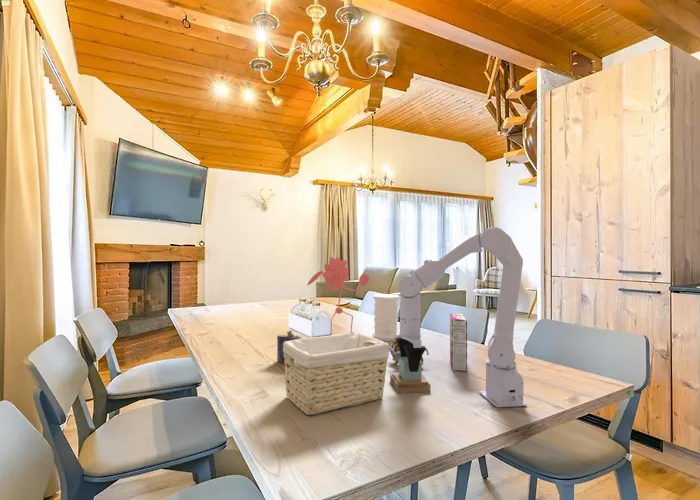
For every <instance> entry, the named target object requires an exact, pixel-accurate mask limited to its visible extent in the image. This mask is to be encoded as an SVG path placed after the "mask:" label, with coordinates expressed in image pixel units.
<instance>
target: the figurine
mask: <svg viewBox="0 0 700 500" xmlns="http://www.w3.org/2000/svg"><path fill="white" fill-rule="evenodd" d="M347 263H348V262H347V260H345V259H343V260H341V258H340V257H339V256H338V257H336V258H334V257H332V256H331V257H330V258H329V262H328V263H324V266H323V267H324V270H325V271H323V270H322V269H321V270H319V271H318V272H316V273H315V274H314V275H313V276H312V277H311V278H310V280H308V282H307V285H306V286H310V285H311V284H313V283H314V282H316V280H318V279H319V278H320V276H321V274H322V276H323V279H324V281H325V285H326V286H327V287H328V290H329V291H330V292H332V291H336V290H340V289H341V290H340V292H339V296H338V304H337V307H336V308H335V310H334V311H335V312H334V314H333V315H332V317H331V319H330V335H333V334H332V333H333V332H332V330H333V329H332V321H333V318H334V317H335V315H336V314H338V315H340V314H342V313H344V314H346V315H349V316H350V317H351V323H350V332H348V334H353V333H354V332H352V331H353V319H354V318H353V317H354V316H353V315H352V314H350V313H348V312H345V311H343V308H342V307H341V306H340V303H341V297H342V292H343V290H344V289H345V290H349V291H352V292H356V291H357V290H358V288H359V287H360V285H361V286H362V287H365V286H366V285H367V284H368V283H369V281H370V280H369V275H367V274H366V273H363V274H361V275H360V276H359V278H358V281H359V283H358V284H357V286H356V288H355V289H353V288H349V287H345V286H344V282H349V281H350V276H349V271H350V270H349V268H348V267H346V266H347ZM330 285H331V286H330ZM331 287H332V288H331Z"/></svg>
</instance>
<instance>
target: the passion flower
mask: <svg viewBox="0 0 700 500" xmlns="http://www.w3.org/2000/svg"><path fill="white" fill-rule="evenodd" d="M390 345H391V348H389V353H390V355H392V356H391V357H392V359H391V361H394V362H393V365H395V366H396V365H398V364H399V357H401V354H400V349H399V346H398V343H397V341H396V338H395V339H394V340H392V342H391V344H390ZM425 352H426V355H427V356H429V355H430V353H429V350H428V348H426V350H425ZM421 362H422V365H423V364H424V362H425V361H424V358H423V356H422V357H421Z"/></svg>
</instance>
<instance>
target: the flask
mask: <svg viewBox="0 0 700 500" xmlns="http://www.w3.org/2000/svg"><path fill="white" fill-rule="evenodd" d="M292 332H293V330H289V331H286V333H287V334H278V335H277V337H276V340H277V343H276V344H277V345H276V346H277V350H276V357H277V358H276V361H277V363H280V364H285V363H284V361H285V358H284V352H283V343H284V342H285V341H290V340H296V339H302V337H301V336H298V334H297V335H295V334H294V333H292Z"/></svg>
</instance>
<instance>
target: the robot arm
mask: <svg viewBox="0 0 700 500" xmlns="http://www.w3.org/2000/svg"><path fill="white" fill-rule="evenodd" d="M482 248H483V249H484V250H485V251H486V252H488V253H490V254H492V255H493V256H495V258H496V259H497V260H498V261H499V263H500V264H501V265H502V273H501V278H500V286H499V291H498V292H499V294H498V298H497V299H498V302H497V308H496V315H495V322H494V328H493V334H492V336H491V337H490V339H489V340H488V344H487V349H488V350H487V357H488V358H487V359H486V360H485V362H486V363H485V390H480V391H479V394H480V395H481V396H482V397H484V398H485V399H486V400H487V401H489V402H490V403H491V404H492V405H493V406H495V408H509V407H511V408H512V407H513V408H514V407H526V406H527V403H526V402H525V401H524V378H523V376H522V375H521V374H520V373H519V372H518V370H517V363H516V361H515V360H516V359H515V358H516V352H515V350H514V330H515V324H516V315H517V308H518V302H519V293H520V288H521V287H520V286H521V280H522V279H521V278H522V272H523V266H524V264H523V263H524V260H523V257H522V255H521V254H520V252H519V250H518V248H517V246H516V245H515V243H514V241H513V239H512V237H511V236H510V235H509V234H508V233H507V232H506V231H504V230H503V229H501V228H499V227H496V226H492V227H488V228H487V229H484V230H483V232H482V233H481V232H479V233H477V234H475V235H473V236H471V237H469V238H468V239H466V240H465V241H463V242H462V243H460V244H459V245H458V246H456V247H455V248H453V249H452V250H450V251H449V252H448V253H447V254H445V255H444V256H442V257H441V258H440V259H435V258H431V259H426V260H424V261H423V264H422V265H420V266H419V267H418V268H416V269H415V270H410V271H409V274H410V275H406V276H405V275H404V276H403V277H402V278H401V279H400V280H399V282H398V286H397V289H398V291H399V293H400V296H399V301H400V302H399V333H398V334H396V337H397V338H396V341H397V343H398V346H399V349H400V354H401V357H408V365H409V370H410V372H418V369H419V365H420V361H421V357H423V355H424V353H425V352H426V349H427V347H426V346H425V345H422V334H421V316H422V315H421V306H422V305H421V304H422V303H421V292H422V291H423V289H427V288H429V287H430V286H432V285H433V284H435V283H436V282H437V281H439V280H441V279H442V278H444V276H445V275H446V270H447V269H448V268H449V267H451V266H453V265H455V264H456V263H458V262H459V261H461V260H462V259H464V258H466V256H468V255H471V254H475V253H481V252H483V250H482Z"/></svg>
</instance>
